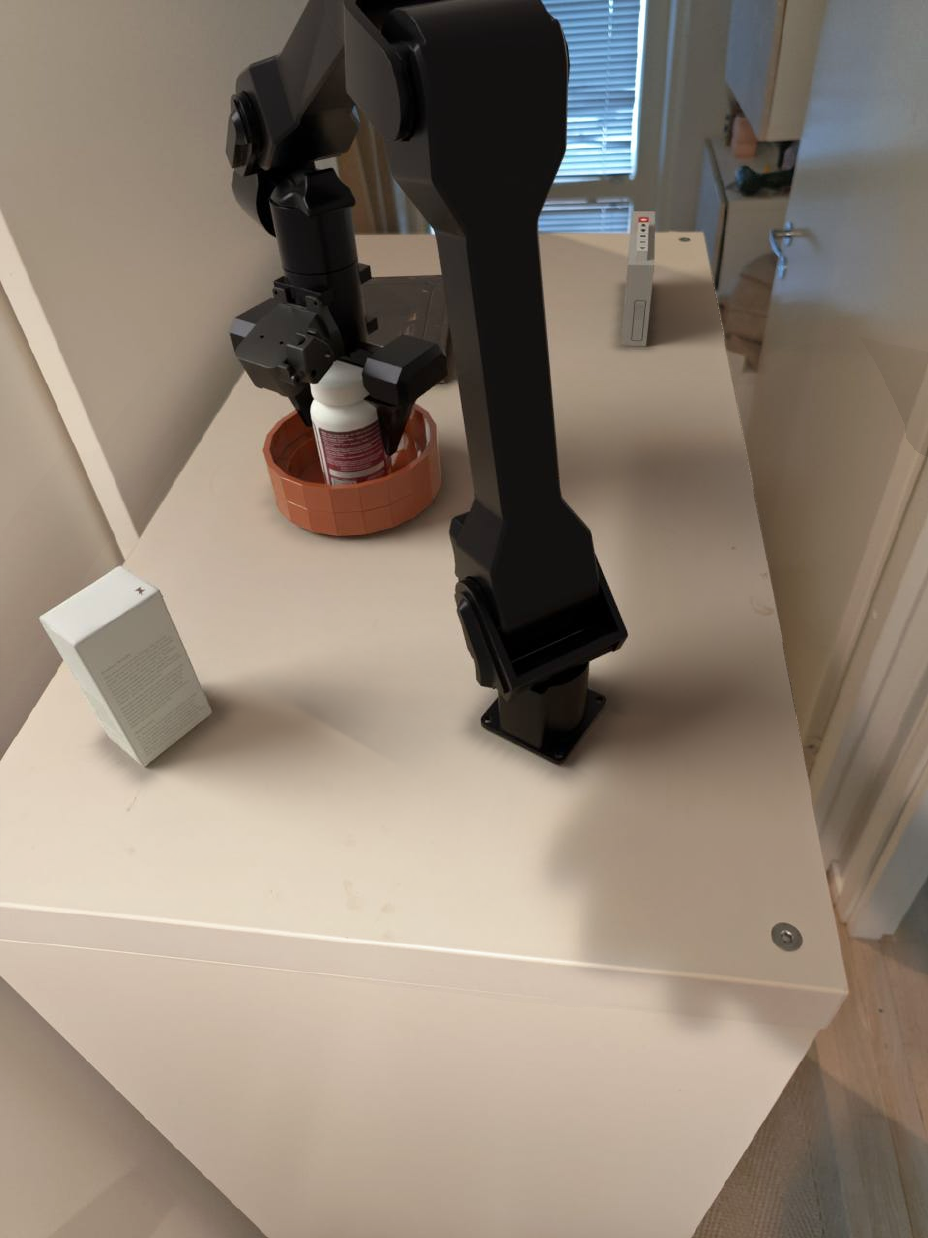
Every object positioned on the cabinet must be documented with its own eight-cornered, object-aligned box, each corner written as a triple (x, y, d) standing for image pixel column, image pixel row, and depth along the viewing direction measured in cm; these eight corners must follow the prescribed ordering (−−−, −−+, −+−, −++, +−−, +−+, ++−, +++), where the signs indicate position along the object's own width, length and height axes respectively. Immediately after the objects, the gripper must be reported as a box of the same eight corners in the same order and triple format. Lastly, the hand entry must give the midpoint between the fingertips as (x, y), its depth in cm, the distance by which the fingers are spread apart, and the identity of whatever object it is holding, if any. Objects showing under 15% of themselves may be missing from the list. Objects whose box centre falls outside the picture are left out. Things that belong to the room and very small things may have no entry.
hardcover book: (457, 292, 107) (456, 273, 106) (444, 383, 91) (443, 363, 89) (333, 295, 109) (330, 277, 107) (298, 386, 92) (294, 367, 91)
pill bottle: (405, 487, 77) (391, 373, 69) (345, 513, 74) (323, 397, 67) (372, 457, 81) (355, 345, 73) (314, 480, 78) (290, 368, 70)
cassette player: (625, 286, 106) (632, 202, 99) (647, 286, 105) (656, 202, 98) (621, 345, 95) (628, 255, 88) (645, 346, 95) (655, 255, 88)
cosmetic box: (177, 686, 62) (122, 561, 53) (214, 714, 60) (162, 588, 51) (106, 740, 58) (35, 615, 50) (142, 771, 56) (74, 647, 48)
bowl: (371, 562, 70) (362, 509, 67) (242, 506, 77) (226, 455, 73) (473, 471, 79) (470, 419, 75) (349, 427, 86) (340, 378, 82)
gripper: (154, 275, 63) (209, 454, 74) (345, 330, 55) (375, 521, 66) (259, 225, 69) (296, 396, 80) (444, 267, 61) (457, 451, 72)
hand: (350, 439), depth 74 cm, fingers open, 9 cm apart
